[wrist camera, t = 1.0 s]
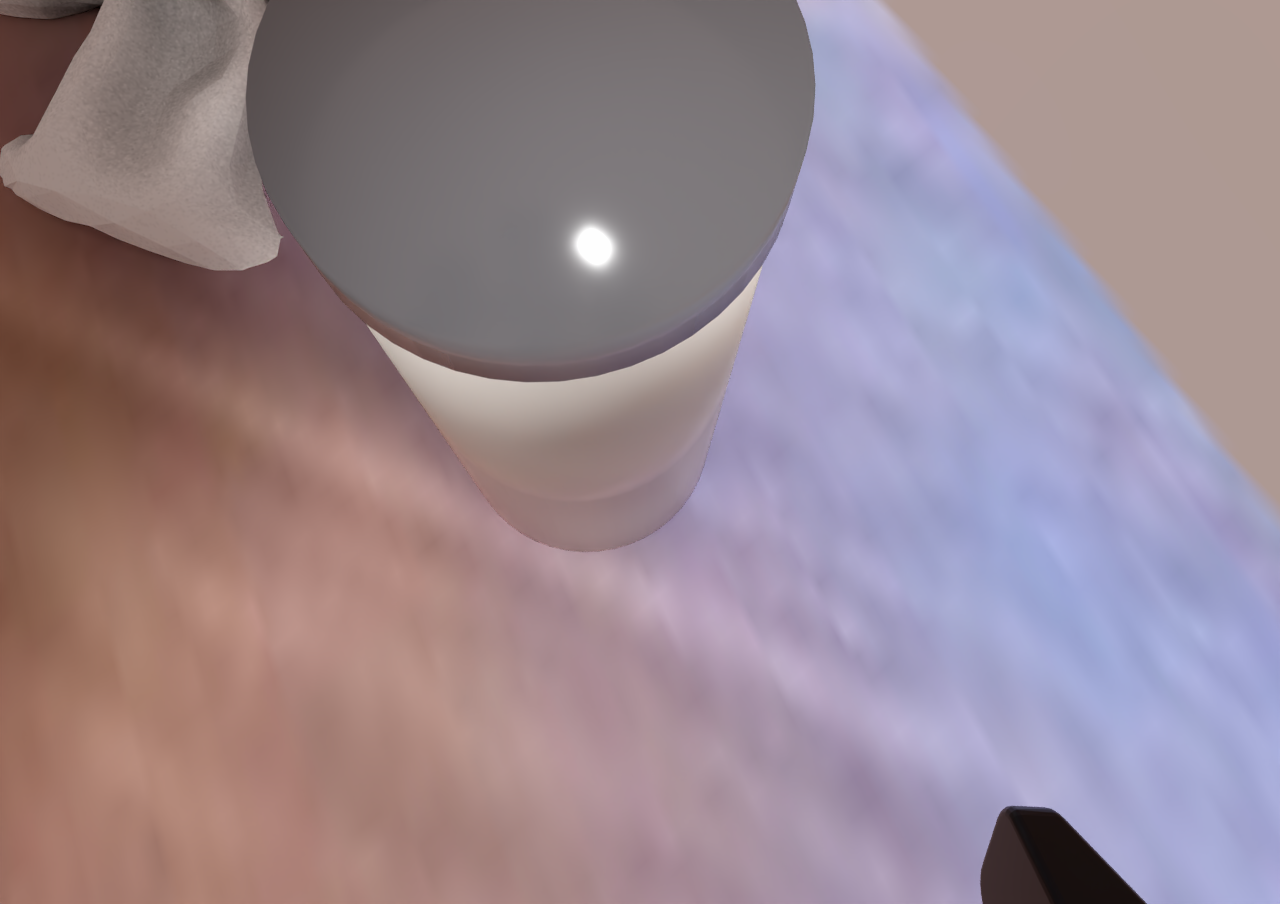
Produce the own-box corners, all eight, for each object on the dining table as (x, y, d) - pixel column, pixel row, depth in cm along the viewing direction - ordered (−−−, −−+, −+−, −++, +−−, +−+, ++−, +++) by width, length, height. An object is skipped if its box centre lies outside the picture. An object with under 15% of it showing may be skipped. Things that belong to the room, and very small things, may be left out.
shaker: (750, 504, 22) (907, 227, 10) (509, 593, 22) (335, 424, 9) (660, 284, 24) (692, -213, 11) (431, 363, 23) (185, -65, 10)
